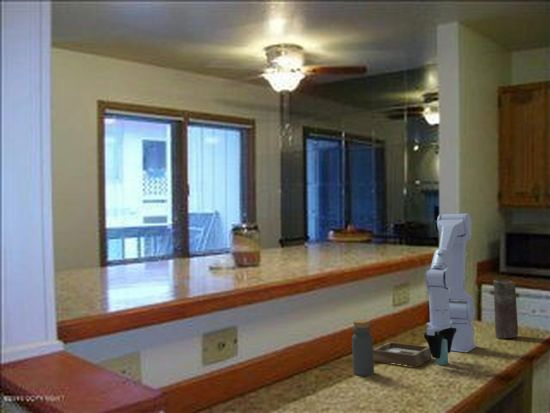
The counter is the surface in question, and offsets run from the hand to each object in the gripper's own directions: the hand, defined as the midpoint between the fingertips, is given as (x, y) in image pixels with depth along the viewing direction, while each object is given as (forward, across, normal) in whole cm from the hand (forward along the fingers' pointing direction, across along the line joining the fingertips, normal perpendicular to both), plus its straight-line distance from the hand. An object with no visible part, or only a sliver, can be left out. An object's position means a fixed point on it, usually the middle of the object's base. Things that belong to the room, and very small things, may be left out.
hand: (441, 355), depth 169 cm
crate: (+3, +2, -12) cm, 12 cm away
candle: (+3, -42, +6) cm, 43 cm away
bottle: (+3, +20, -15) cm, 25 cm away
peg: (+3, 0, 0) cm, 3 cm away
